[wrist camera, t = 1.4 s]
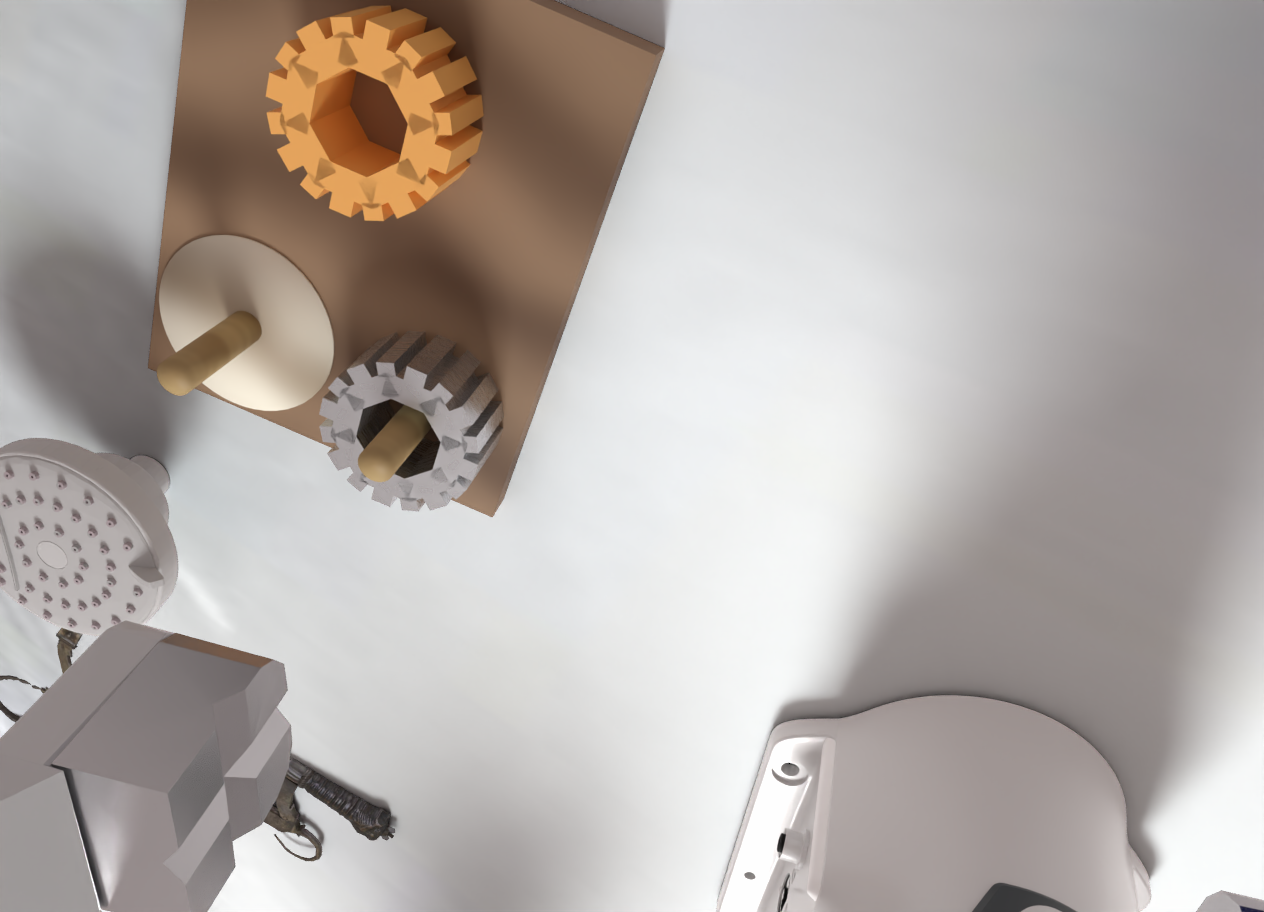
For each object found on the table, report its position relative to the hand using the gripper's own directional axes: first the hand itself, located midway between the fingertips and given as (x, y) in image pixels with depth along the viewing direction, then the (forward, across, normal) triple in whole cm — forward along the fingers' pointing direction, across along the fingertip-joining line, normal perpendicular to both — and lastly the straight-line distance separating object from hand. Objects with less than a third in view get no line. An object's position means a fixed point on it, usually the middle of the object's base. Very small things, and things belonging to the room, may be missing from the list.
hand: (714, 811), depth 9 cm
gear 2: (+28, +13, +14) cm, 34 cm away
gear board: (+30, +16, +8) cm, 35 cm away
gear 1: (+28, +15, +3) cm, 32 cm away
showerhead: (+30, +28, +22) cm, 46 cm away
